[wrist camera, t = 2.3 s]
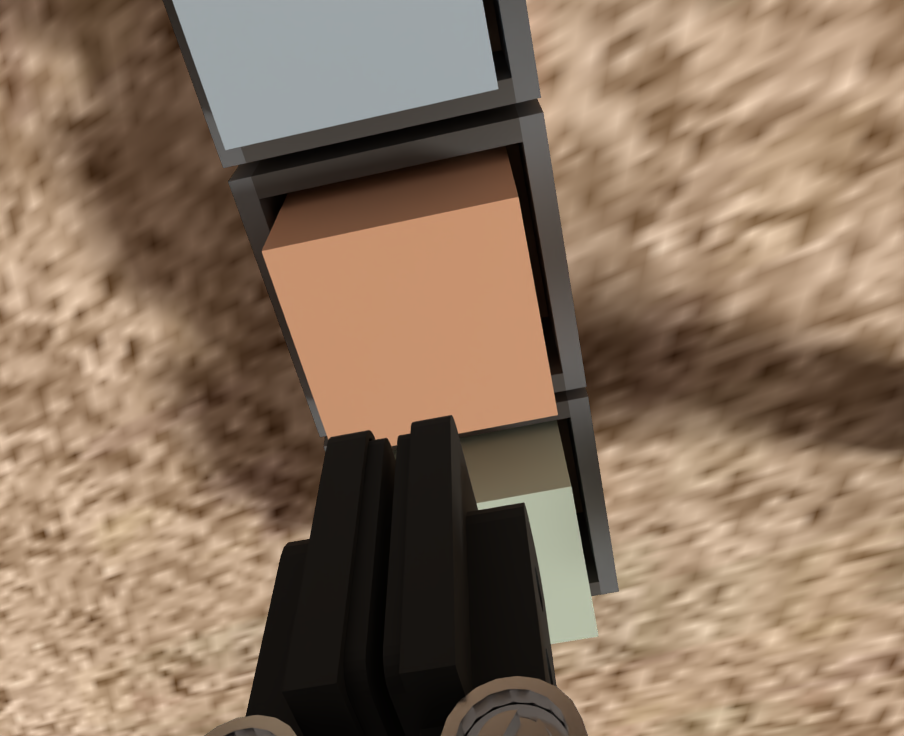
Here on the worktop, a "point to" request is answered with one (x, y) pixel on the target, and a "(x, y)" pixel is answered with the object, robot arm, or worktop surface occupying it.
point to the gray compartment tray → (430, 139)
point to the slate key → (331, 60)
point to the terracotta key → (413, 298)
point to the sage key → (538, 515)
